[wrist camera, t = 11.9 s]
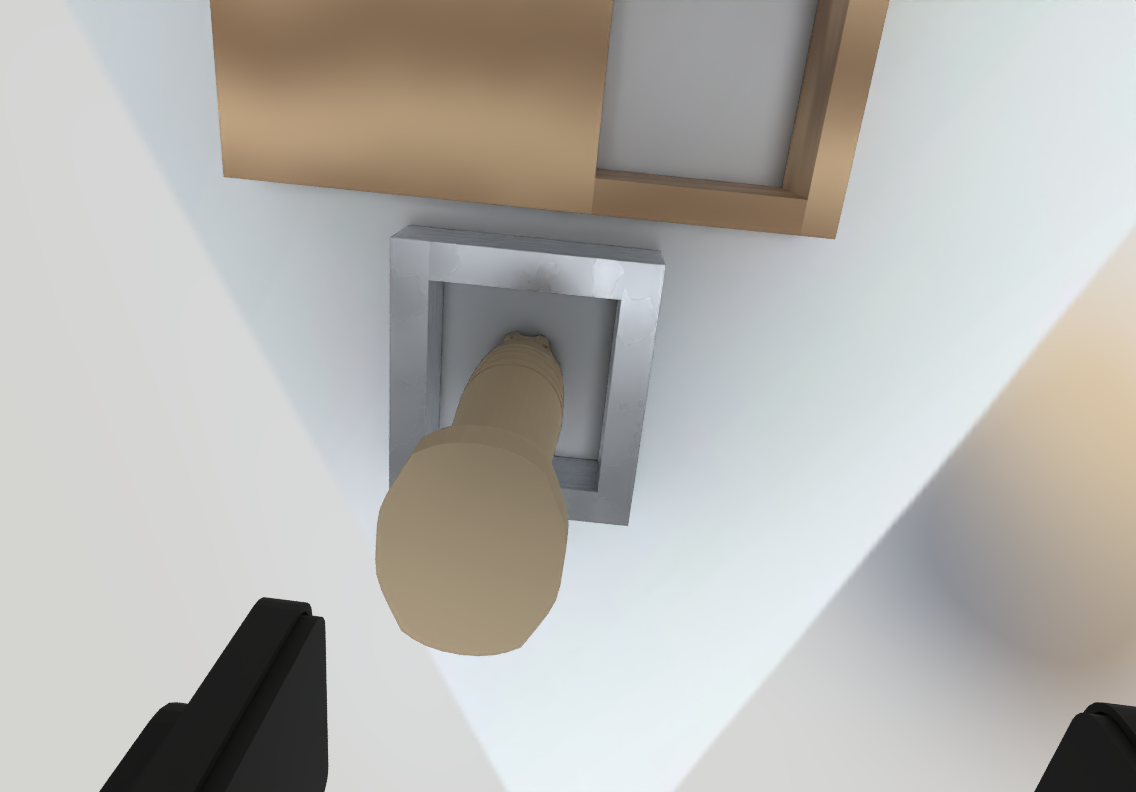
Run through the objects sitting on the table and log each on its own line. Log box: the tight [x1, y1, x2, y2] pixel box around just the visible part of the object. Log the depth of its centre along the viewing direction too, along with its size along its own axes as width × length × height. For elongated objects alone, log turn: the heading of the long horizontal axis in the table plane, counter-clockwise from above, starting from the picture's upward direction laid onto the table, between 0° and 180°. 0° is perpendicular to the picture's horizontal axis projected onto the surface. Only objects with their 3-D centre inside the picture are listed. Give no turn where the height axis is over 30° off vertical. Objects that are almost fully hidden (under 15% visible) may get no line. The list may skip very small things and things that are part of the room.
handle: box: [375, 332, 568, 656], centre depth 26 cm, size 5×6×15 cm
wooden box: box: [210, 0, 889, 239], centre depth 26 cm, size 11×22×4 cm, turn 85°
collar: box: [389, 225, 666, 526], centre depth 32 cm, size 12×10×3 cm
